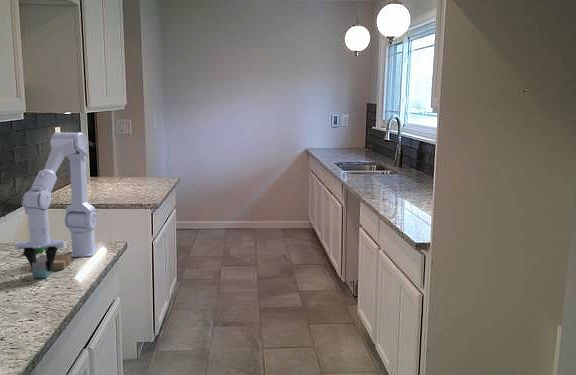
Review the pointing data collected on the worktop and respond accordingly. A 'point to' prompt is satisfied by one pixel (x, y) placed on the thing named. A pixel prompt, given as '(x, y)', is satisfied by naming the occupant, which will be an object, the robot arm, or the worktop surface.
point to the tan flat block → (60, 261)
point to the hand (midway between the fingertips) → (42, 270)
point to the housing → (40, 268)
